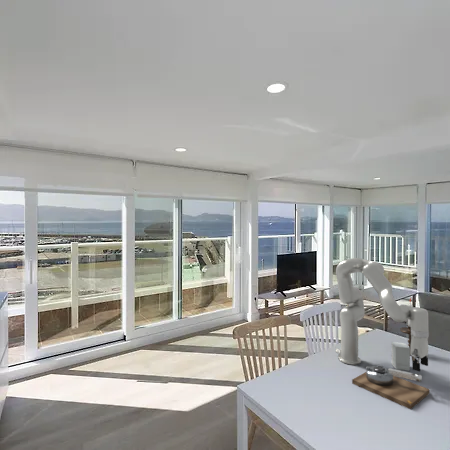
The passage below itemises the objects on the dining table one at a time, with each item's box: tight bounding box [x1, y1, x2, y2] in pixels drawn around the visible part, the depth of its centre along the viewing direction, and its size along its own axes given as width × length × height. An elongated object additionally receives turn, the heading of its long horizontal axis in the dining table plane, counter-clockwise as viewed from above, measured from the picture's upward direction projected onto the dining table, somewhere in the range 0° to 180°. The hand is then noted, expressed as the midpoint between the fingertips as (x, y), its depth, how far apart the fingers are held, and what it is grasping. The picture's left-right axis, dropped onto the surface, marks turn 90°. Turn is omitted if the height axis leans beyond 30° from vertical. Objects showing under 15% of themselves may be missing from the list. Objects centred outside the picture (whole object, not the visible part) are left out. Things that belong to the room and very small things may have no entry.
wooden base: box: [351, 371, 431, 410], centre depth 149 cm, size 27×21×2 cm
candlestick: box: [399, 298, 417, 357], centre depth 190 cm, size 11×11×35 cm
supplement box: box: [391, 341, 411, 372], centre depth 171 cm, size 7×7×13 cm
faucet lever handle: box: [365, 364, 423, 386], centre depth 150 cm, size 24×12×7 cm, turn 59°
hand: (420, 367), depth 152 cm, fingers open, 9 cm apart
